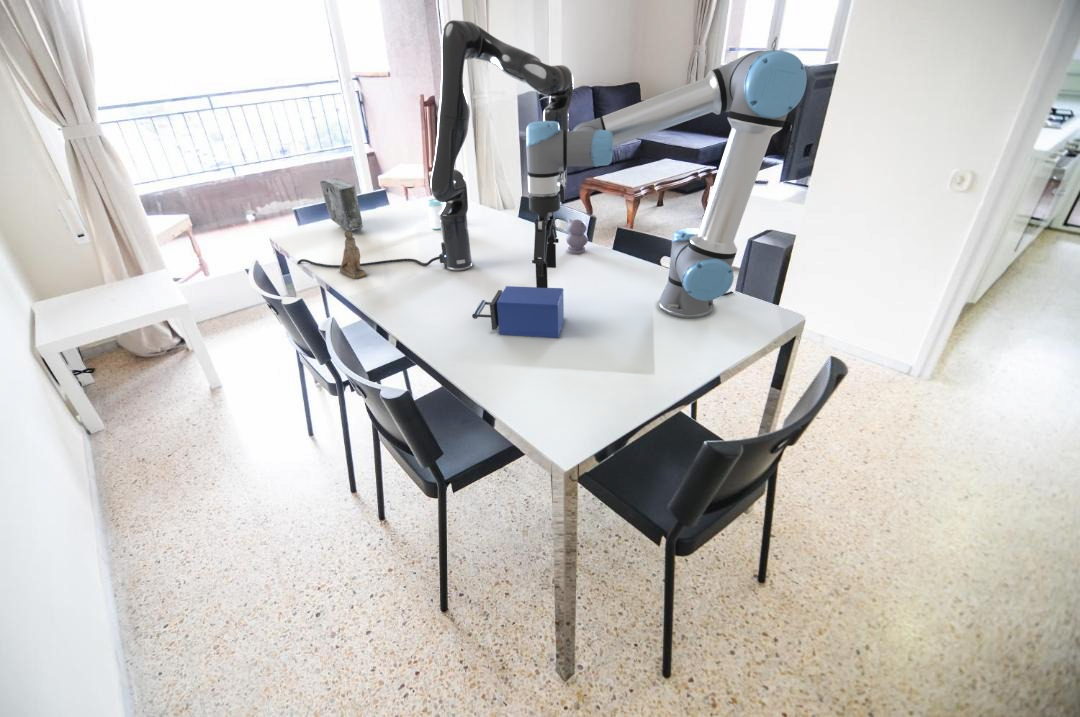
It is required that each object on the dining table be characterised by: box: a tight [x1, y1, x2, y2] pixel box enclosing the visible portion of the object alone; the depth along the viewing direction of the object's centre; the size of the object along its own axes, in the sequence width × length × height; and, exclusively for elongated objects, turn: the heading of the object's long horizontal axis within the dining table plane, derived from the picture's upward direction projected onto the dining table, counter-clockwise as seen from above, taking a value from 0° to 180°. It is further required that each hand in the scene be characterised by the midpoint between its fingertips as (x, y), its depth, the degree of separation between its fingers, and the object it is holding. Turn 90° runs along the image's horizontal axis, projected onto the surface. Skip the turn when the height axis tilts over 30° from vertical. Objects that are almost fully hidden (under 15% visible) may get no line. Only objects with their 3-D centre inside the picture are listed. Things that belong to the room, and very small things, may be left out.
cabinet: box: [497, 285, 565, 339], centre depth 136 cm, size 16×11×10 cm, turn 80°
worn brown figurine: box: [339, 230, 367, 280], centre depth 174 cm, size 12×6×18 cm, turn 43°
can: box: [426, 198, 445, 230], centre depth 220 cm, size 7×7×12 cm
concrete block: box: [319, 177, 364, 232], centre depth 222 cm, size 27×9×20 cm, turn 36°
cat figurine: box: [565, 218, 589, 255], centre depth 187 cm, size 9×8×12 cm
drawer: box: [471, 289, 504, 331], centre depth 137 cm, size 20×10×8 cm, turn 80°
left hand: (557, 205), depth 149 cm, fingers open, 8 cm apart
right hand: (546, 277), depth 129 cm, fingers open, 13 cm apart
